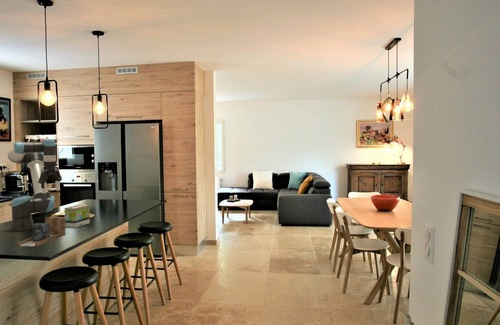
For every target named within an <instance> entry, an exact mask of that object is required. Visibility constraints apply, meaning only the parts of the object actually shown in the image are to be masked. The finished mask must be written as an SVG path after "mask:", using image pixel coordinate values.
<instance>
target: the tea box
mask: <svg viewBox="0 0 500 325" xmlns="http://www.w3.org/2000/svg"><path fill="white" fill-rule="evenodd" d="M64 217H65V228H73V229H74V228H75V229H77V228H79V227H81V226H85V225H88V224H90V222H91V221H90V220H91V218H90V217H91V216H90V205H89V204H75V205H72V206H67V207H64Z"/></svg>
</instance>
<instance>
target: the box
mask: <svg viewBox="0 0 500 325" xmlns="http://www.w3.org/2000/svg"><path fill="white" fill-rule="evenodd" d="M31 231H32V232H31V235H32V238H33V241H42V240H44V239H47V238H49V237H50V228H49V223H45V222H36V223H34V225H32V229H31Z"/></svg>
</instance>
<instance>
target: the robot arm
mask: <svg viewBox="0 0 500 325" xmlns="http://www.w3.org/2000/svg"><path fill="white" fill-rule="evenodd" d="M56 145H57V144H56V140H55V139H53V138H50V139H49V138H43V139H42V141H15V142H13V148H12V149H11V150H10V151H9V152H7V153H8V154H7V159H8V160H9V161H11V162H12V163H14V164H18V165H26V166H27V168H28V169H30V176H31V180H32V187H33V192H34V194H33V195H32V197H31V196H30V195H24V196H18V197H16V198H13V199H12V200H11V201H10V202H11V206H10V207H11V221H10V224H9V225H10V226H9V227H8V228H9V231H10V232H13V233H14V232H24V231H30V230H32V225H34V224H35V223H34V220H33V217H32V214H38V213H47V212H51V211H53V210H54V208H55V200H56V199H55V196H54V195H52V193H51V192H50V191H48V185H47V180H48V177H49V176H52V177H53V178H54V180H55V186H54V187H55V191H61V187H60V186H61V181H62V180H63V178H62V175H61V173H60V169H59V167H57V146H56Z"/></svg>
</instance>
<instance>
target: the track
mask: <svg viewBox="0 0 500 325" xmlns="http://www.w3.org/2000/svg"><path fill="white" fill-rule="evenodd" d="M44 223H49V228H50V237H49V238H47V239H44V240H42V241H33V238H32V237H29V238H26V239H24V240H21V241H19V242H16V247H35V248H36V247H37V248H38V247H40V246H42V245H44V244H47V243H49V242H51V241H54V240H56V239H59V238H61V237H64V236H65V235H66V227H65V216H62V217H61V216H46V217H44Z"/></svg>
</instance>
